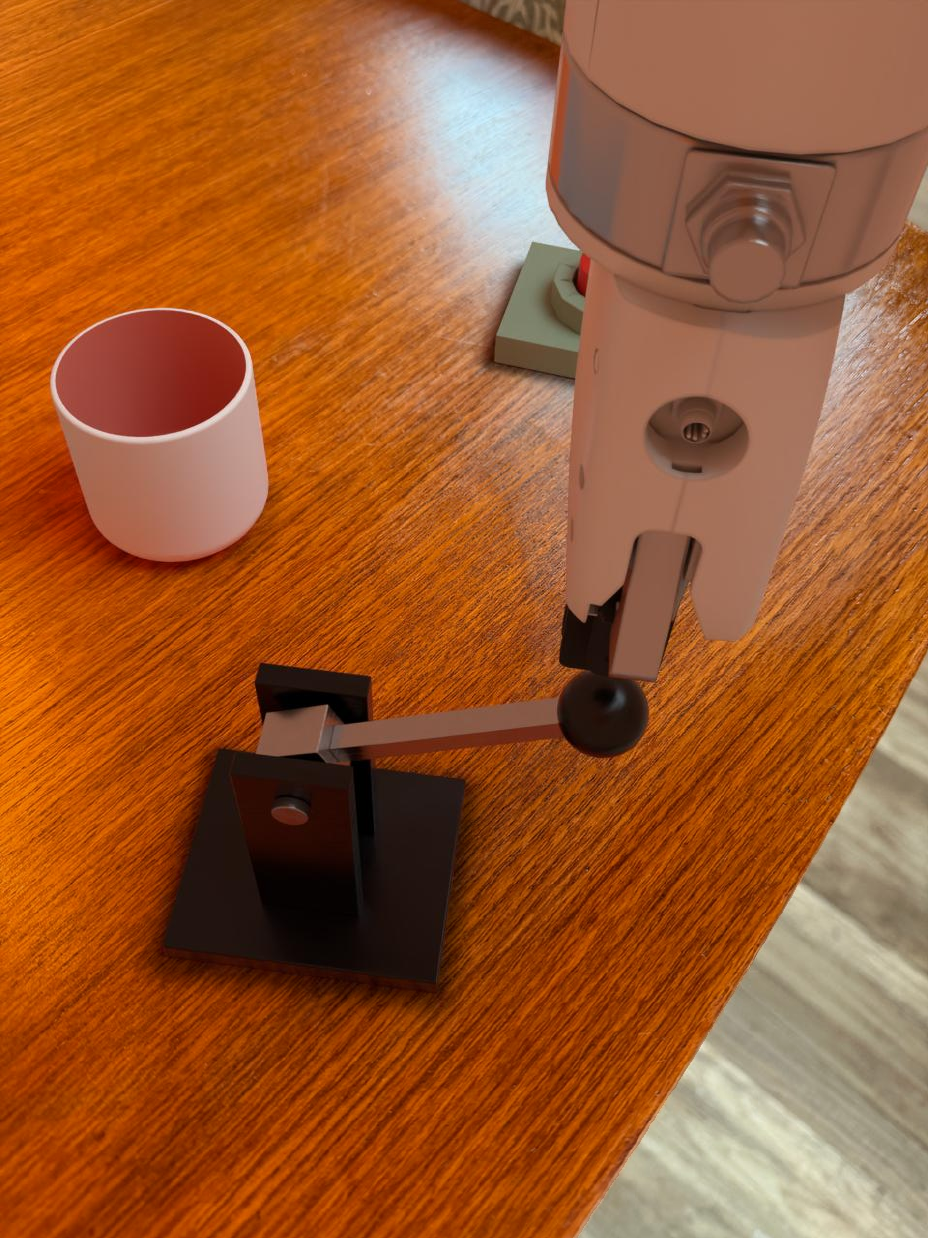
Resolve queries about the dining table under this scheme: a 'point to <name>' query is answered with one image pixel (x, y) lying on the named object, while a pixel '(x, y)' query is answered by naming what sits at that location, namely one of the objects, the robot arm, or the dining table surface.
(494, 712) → the lever
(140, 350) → the cup
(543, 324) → the button box
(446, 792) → the bracket
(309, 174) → the dining table surface
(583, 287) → the button
